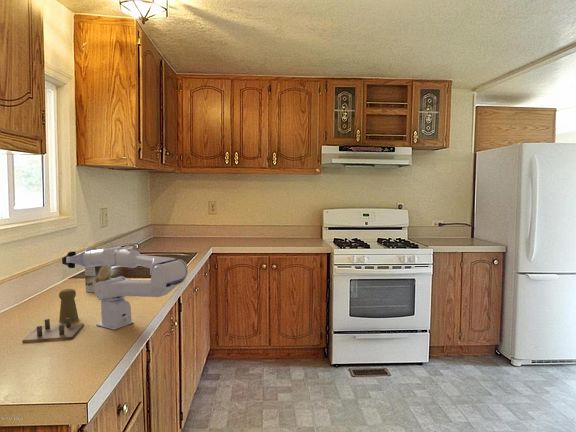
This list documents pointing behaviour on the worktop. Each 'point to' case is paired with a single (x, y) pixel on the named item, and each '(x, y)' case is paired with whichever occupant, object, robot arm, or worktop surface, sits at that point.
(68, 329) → the pin tray
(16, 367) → the worktop surface
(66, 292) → the cork
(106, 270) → the coffee box
